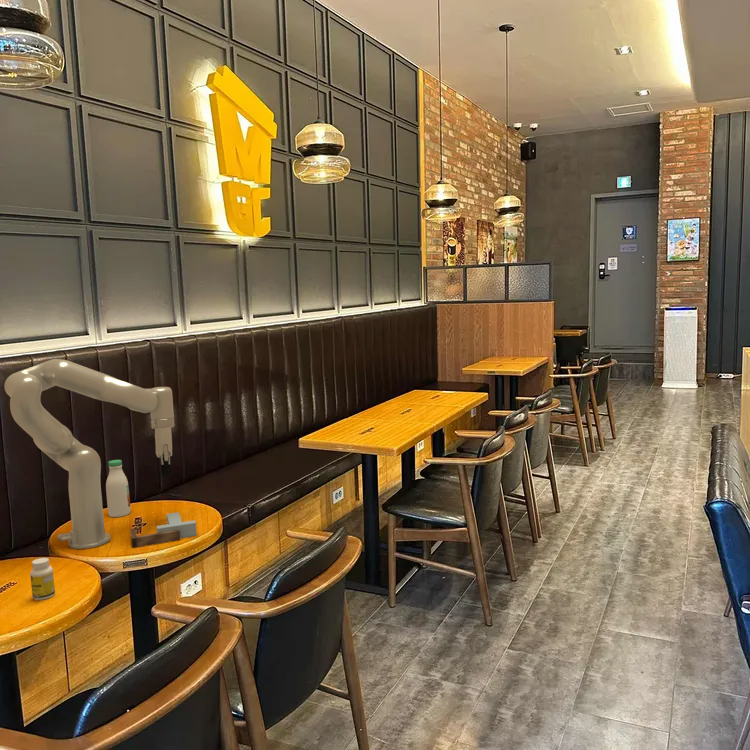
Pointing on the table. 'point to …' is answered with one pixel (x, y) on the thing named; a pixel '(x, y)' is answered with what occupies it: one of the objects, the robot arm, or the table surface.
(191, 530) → the t block
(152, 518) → the table surface
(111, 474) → the milk bottle
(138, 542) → the corner fence
